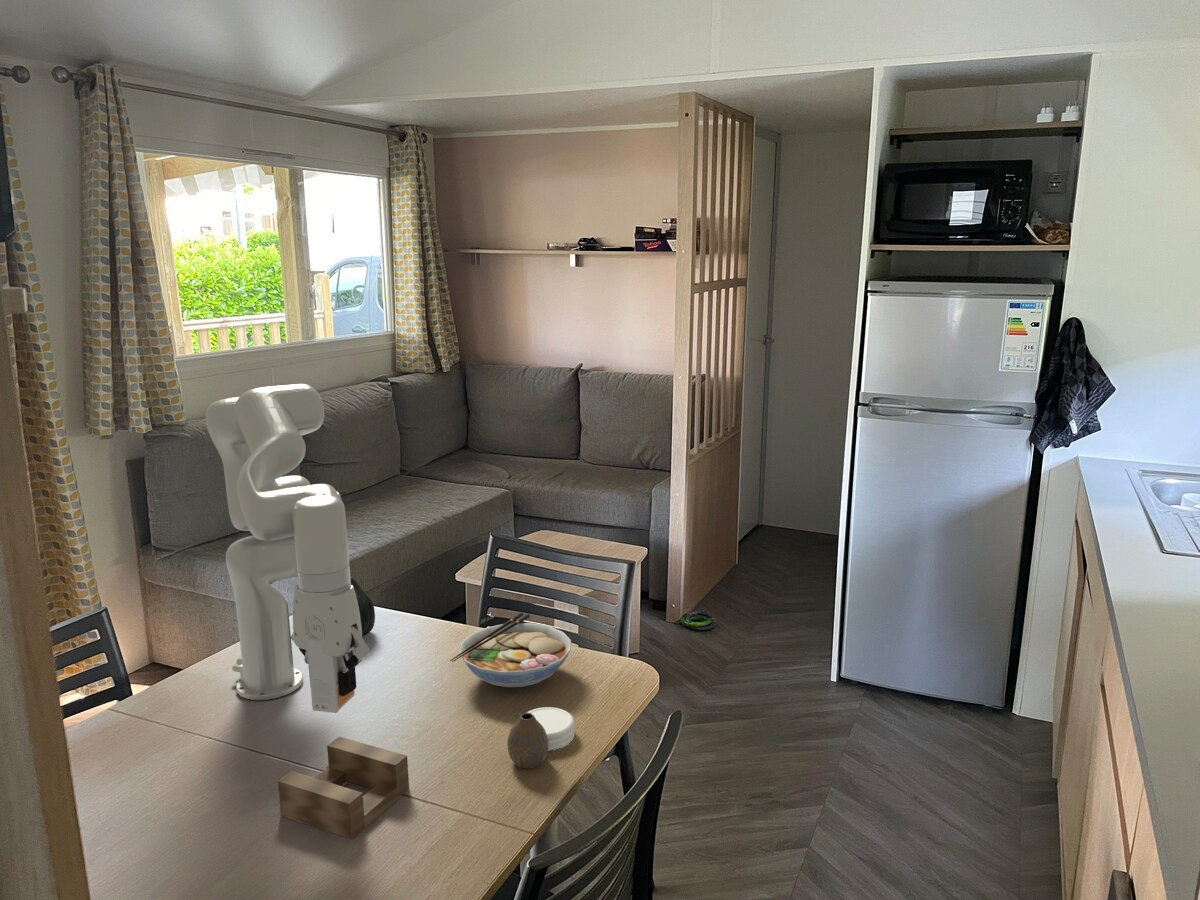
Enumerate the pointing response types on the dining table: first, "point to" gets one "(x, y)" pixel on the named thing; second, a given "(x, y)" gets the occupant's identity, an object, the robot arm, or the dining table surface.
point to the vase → (527, 742)
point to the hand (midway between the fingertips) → (333, 687)
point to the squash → (364, 607)
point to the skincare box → (325, 679)
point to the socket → (342, 806)
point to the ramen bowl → (515, 652)
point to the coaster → (555, 726)
